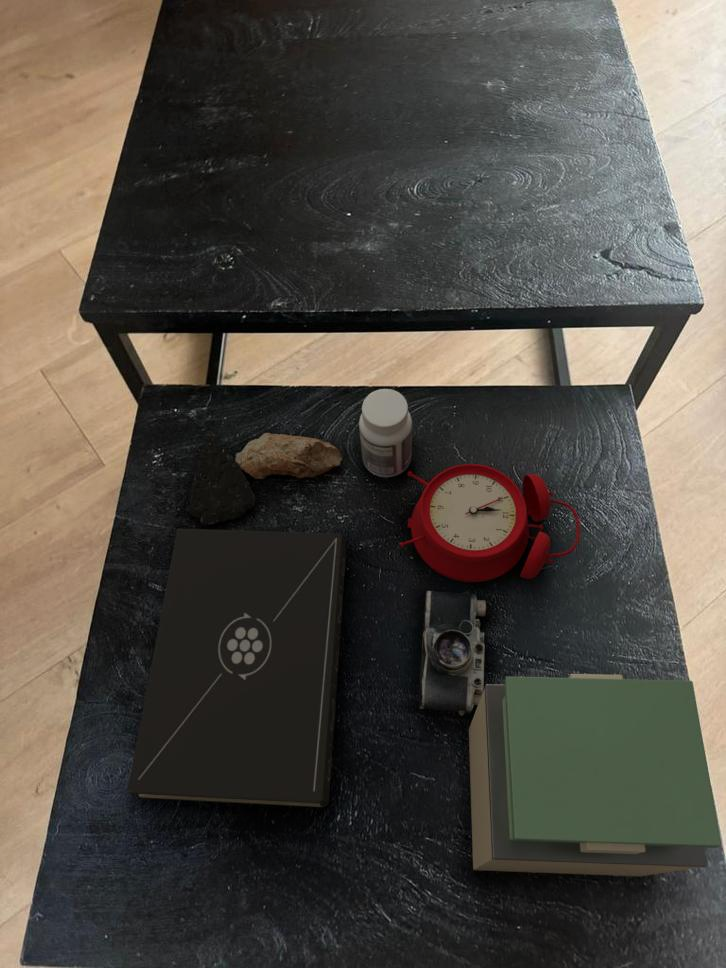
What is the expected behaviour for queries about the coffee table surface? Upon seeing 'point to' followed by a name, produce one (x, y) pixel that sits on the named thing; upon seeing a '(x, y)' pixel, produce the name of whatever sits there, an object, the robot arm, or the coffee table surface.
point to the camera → (452, 652)
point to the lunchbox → (606, 763)
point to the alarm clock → (481, 523)
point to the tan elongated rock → (287, 456)
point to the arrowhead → (218, 486)
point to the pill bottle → (386, 433)
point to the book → (244, 670)
